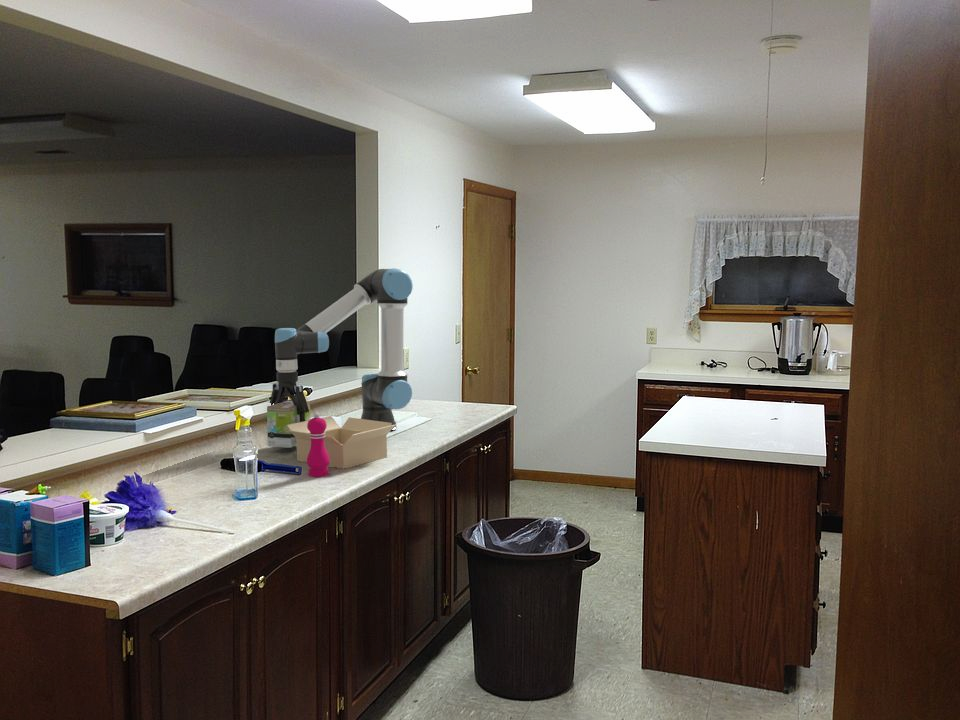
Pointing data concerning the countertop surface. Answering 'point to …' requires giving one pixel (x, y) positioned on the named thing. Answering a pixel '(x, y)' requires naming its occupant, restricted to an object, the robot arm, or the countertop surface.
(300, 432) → the carton
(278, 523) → the countertop surface
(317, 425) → the pepper mill
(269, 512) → the countertop surface
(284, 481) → the countertop surface
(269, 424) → the tea box
